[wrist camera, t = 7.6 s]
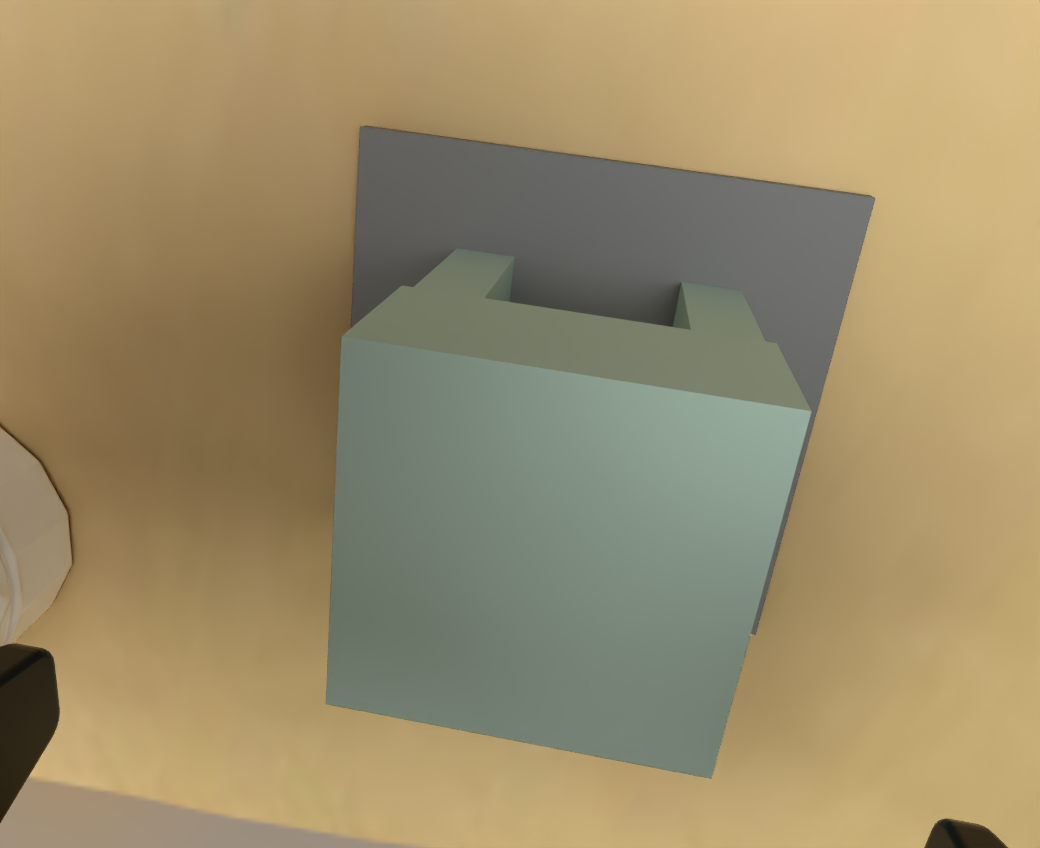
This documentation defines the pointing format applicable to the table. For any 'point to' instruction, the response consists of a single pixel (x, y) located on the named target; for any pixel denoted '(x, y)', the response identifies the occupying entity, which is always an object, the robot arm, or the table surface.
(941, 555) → the table surface
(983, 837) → the robot arm
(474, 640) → the notched green block
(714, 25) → the table surface
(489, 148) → the mat
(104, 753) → the table surface
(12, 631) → the white cup
